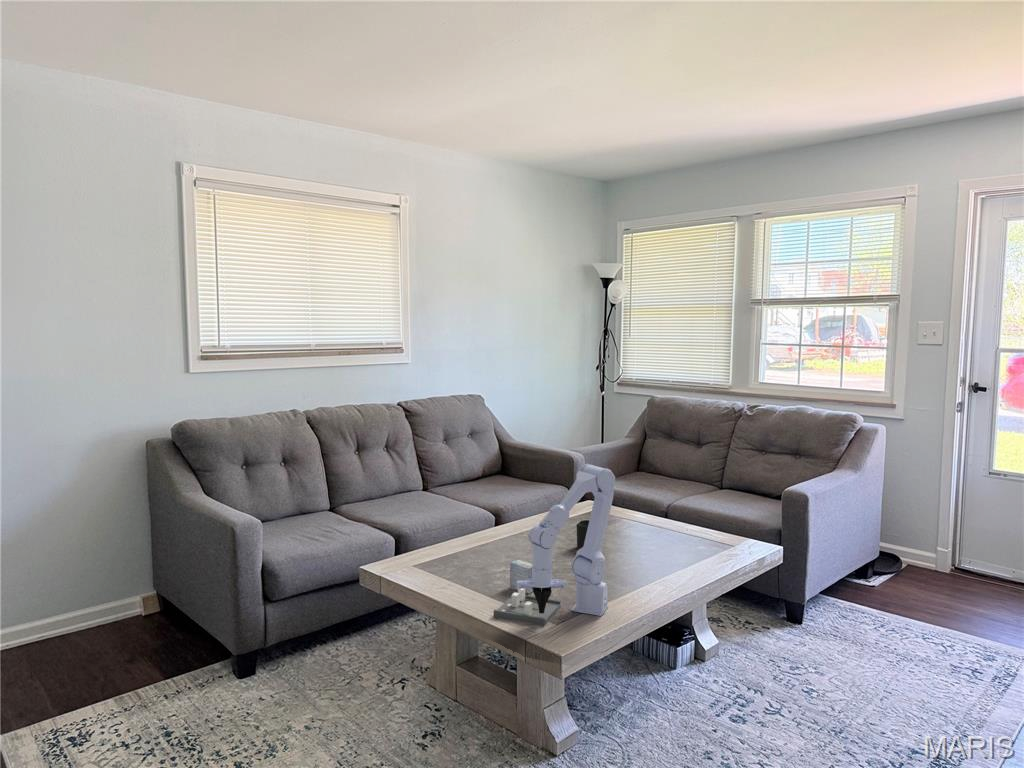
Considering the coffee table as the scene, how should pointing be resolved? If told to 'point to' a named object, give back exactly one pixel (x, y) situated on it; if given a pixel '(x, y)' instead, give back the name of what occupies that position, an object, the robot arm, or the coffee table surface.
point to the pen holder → (581, 533)
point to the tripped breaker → (528, 608)
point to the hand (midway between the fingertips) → (541, 612)
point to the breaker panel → (536, 618)
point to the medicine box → (520, 574)
